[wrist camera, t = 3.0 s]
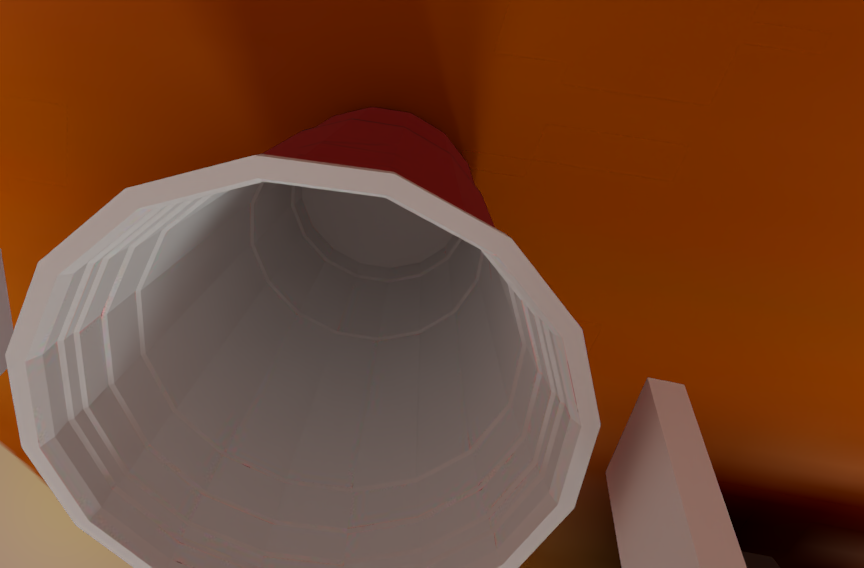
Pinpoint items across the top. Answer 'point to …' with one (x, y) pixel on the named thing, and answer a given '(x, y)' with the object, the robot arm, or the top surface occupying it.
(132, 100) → the top surface
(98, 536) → the plastic cup
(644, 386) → the robot arm
